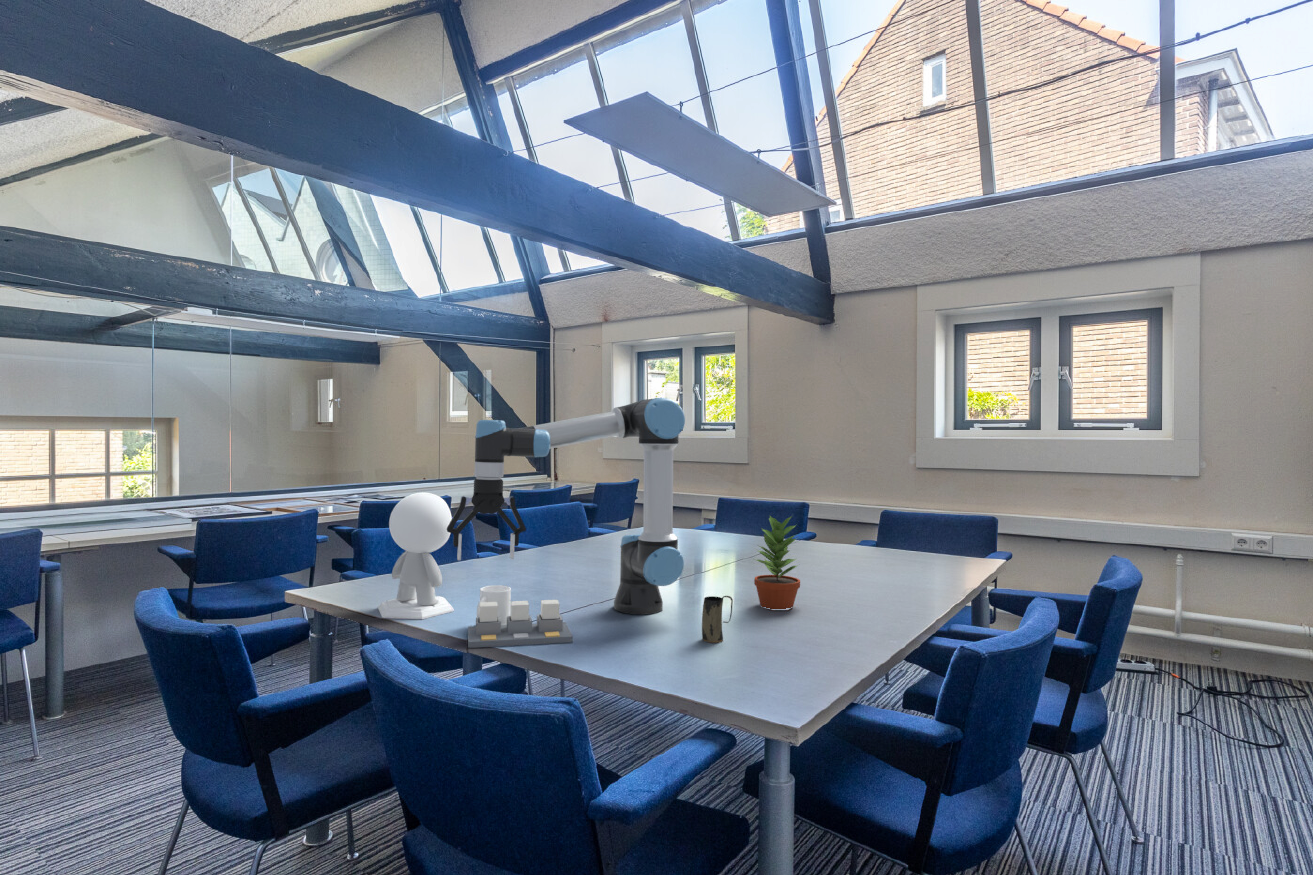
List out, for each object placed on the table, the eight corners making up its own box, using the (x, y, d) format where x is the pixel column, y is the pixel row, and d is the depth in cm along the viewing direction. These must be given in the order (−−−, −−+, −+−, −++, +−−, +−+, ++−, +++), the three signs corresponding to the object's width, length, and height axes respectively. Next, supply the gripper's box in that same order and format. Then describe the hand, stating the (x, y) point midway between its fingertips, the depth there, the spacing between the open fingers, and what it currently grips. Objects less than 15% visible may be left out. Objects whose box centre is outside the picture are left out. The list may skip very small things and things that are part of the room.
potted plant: (751, 600, 229) (753, 510, 229) (798, 602, 227) (800, 511, 227) (751, 611, 215) (753, 514, 215) (801, 614, 213) (803, 516, 213)
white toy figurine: (468, 607, 210) (471, 492, 210) (405, 624, 191) (408, 497, 191) (425, 598, 221) (427, 488, 221) (360, 612, 202) (363, 492, 202)
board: (565, 627, 191) (565, 611, 191) (572, 642, 178) (573, 624, 178) (468, 632, 185) (468, 615, 185) (468, 647, 171) (468, 629, 171)
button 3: (496, 616, 183) (496, 601, 183) (497, 621, 179) (497, 605, 179) (479, 617, 182) (479, 602, 182) (479, 622, 178) (480, 606, 178)
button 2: (527, 615, 185) (527, 600, 185) (528, 619, 181) (528, 604, 181) (510, 616, 184) (510, 601, 184) (511, 620, 180) (511, 605, 180)
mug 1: (489, 635, 183) (490, 596, 183) (464, 630, 186) (465, 592, 186) (515, 624, 194) (516, 587, 194) (491, 620, 197) (492, 584, 197)
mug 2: (699, 641, 181) (700, 595, 181) (704, 636, 187) (705, 591, 187) (728, 645, 179) (730, 599, 179) (733, 639, 184) (734, 594, 184)
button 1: (557, 614, 188) (557, 599, 188) (559, 618, 183) (559, 603, 183) (540, 615, 186) (541, 600, 186) (542, 619, 182) (542, 604, 182)
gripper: (533, 478, 190) (530, 555, 190) (438, 476, 181) (435, 557, 181) (538, 479, 183) (535, 560, 183) (439, 478, 174) (436, 562, 174)
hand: (485, 559), depth 182 cm, fingers open, 13 cm apart
